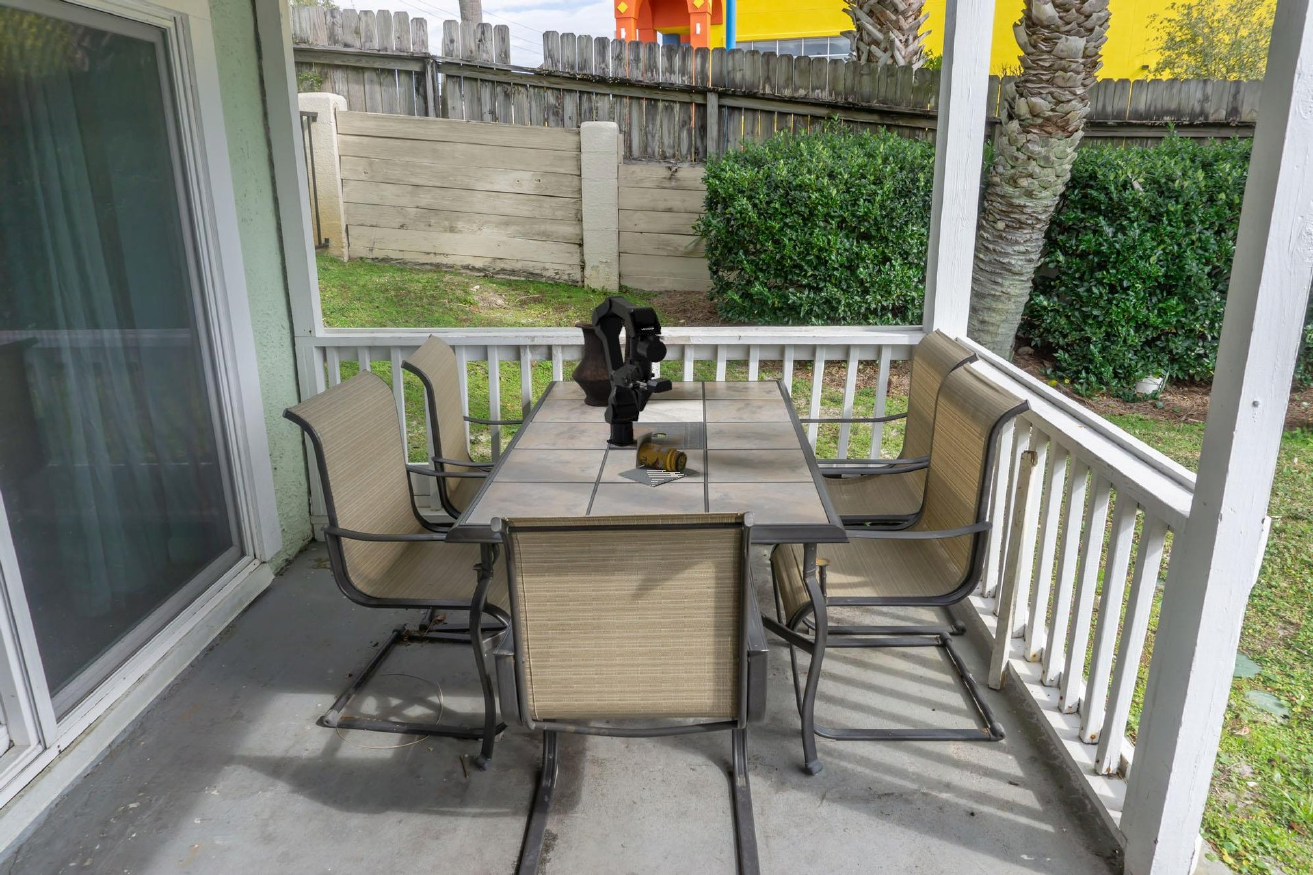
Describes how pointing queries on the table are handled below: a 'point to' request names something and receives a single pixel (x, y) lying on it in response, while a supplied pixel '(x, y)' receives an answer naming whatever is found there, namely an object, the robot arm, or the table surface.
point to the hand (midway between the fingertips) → (640, 411)
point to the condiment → (659, 455)
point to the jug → (596, 366)
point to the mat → (643, 477)
